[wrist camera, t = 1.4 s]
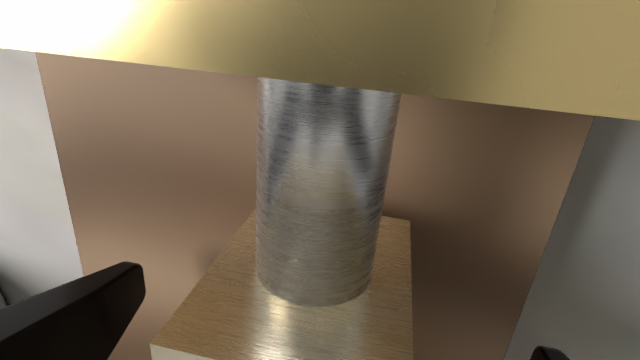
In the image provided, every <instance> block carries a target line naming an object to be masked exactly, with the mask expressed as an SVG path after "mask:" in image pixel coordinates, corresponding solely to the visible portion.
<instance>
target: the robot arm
mask: <svg viewBox="0 0 640 360" xmlns="http://www.w3.org/2000/svg"><path fill="white" fill-rule="evenodd" d="M145 295H146V287H145V280H144V272H143V267H142V266H141V265H140V264H138V263H133V262H128V261H123V262H120V263H118V264H115V265H113V266H110V267H107V268H105V269H102V270H100V271H97V272H94V273H92V274H89V275H87V276H84V277H82V278H79V279H76V280H74V281H71V282H69V283H66V284H63V285H61V286H58V287H56V288H53V289H50V290H48V291H45V292H43V293H40V294H37V295H35V296H32V297H30V298H27V299H25V300H22V301H19V302H17V303H14V304H12V305H9V306H6V307H4V308H1V309H0V360H107V359H108V358H109V356H110V355H111V353H112V352H113V350H114V349H115V347H116V345H117V344H118V342H119V340H120V339H121V337H122V335H123V334H124V332H125V330H126V329H127V327H128V325H129V324H130V322H131V321H132V319H133V317H134V316H135V314H136V312H137V311H138V309H139V307H140V306H141V304H142V302H143V300H144V298H145ZM530 360H570V359H569V358H568V357H567V356H566V355H565V354H564V353H563V352H561V351H560V350H558V349H554V348H549V347H545V346H537V347H536V348H535V350H534V351H533V354H532V356H531V359H530Z"/></svg>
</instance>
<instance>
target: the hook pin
mask: <svg viewBox="0 0 640 360" xmlns="http://www.w3.org/2000/svg"><path fill="white" fill-rule="evenodd" d="M400 99H401V93H393V92H384V91H375V90H366V89H358V88H349V87H340V86H331V85H323V84H314V83H305V82H296V81H288V80H279V79H270V78H261V77H258V87H257V193H256V209H255V210H254V211H253V213H252V214H251V215H250V216H249V218H248V219H247V220H246V222H245V223H244V224H243V225H242V227H241V228H240V229H239V230H238V232H237V233H236V234H235V236H234V237H233V238H232V239H231V241H230V242H229V243H228V245H227V246H226V247H225V248H224V250H223V251H222V252H221V254H220V255H219V256H218V257H217V259H216V260H215V261H214V262H213V264H212V265H211V266H210V268H209V269H208V270H207V271H206V273H205V274H204V275H203V277H202V278H201V279H200V280H199V282H198V283H197V284H196V285H195V287H194V288H193V289H192V291H191V292H190V293H189V294H188V296H187V297H186V298H185V300H184V301H183V302H182V303H181V305H180V306H179V307H178V308H177V310H176V311H175V312H174V314H173V315H172V316H171V317H170V319H169V320H168V321H167V323H166V324H165V325H164V326H163V328H162V329H161V330H160V331H159V333H158V334H157V335H156V337H155V338H154V339H153V340H152V342H151V343H150V349H151V356H152V360H413V330H412V285H411V240H410V220H404V219H398V218H392V217H386V216H382V210H383V204H384V197H385V191H386V185H387V179H388V173H389V166H390V160H391V154H392V148H393V142H394V136H395V129H396V123H397V117H398V111H399V105H400Z"/></svg>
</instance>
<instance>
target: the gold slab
mask: <svg viewBox="0 0 640 360" xmlns="http://www.w3.org/2000/svg"><path fill="white" fill-rule="evenodd" d="M0 48H7V49H16V50H25V51H34V52H42V53H51V54H60V55H69V56H77V57H86V58H95V59H104V60H112V61H121V62H130V63H139V64H147V65H156V66H165V67H174V68H182V69H191V70H200V71H209V72H217V73H226V74H235V75H244V76H252V77H261V78H270V79H279V80H288V81H296V82H305V83H314V84H323V85H331V86H340V87H349V88H358V89H366V90H375V91H384V92H393V93H401V94H410V95H419V96H428V97H436V98H445V99H454V100H463V101H471V102H480V103H489V104H498V105H506V106H515V107H524V108H533V109H541V110H550V111H559V112H568V113H576V114H585V115H594V116H603V117H612V118H620V119H629V120H638V121H640V0H0Z"/></svg>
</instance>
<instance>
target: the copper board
mask: <svg viewBox="0 0 640 360" xmlns="http://www.w3.org/2000/svg"><path fill="white" fill-rule="evenodd" d="M36 57H37V61H38V66H39V71H40V75H41V80H42V85H43V89H44V94H45V98H46V103H47V108H48V112H49V117H50V122H51V126H52V131H53V135H54V140H55V145H56V149H57V154H58V159H59V163H60V168H61V172H62V177H63V182H64V186H65V191H66V196H67V200H68V205H69V209H70V214H71V219H72V223H73V228H74V233H75V237H76V242H77V246H78V251H79V256H80V260H81V265H82V270H83V274H84V276H87V275H89V274H92V273H94V272H97V271H100V270H102V269H105V268H107V267H110V266H113V265H115V264H118V263H120V262H123V261H128V262H133V263H138V264H140V265H141V266H142V267H143V272H144V280H145V287H146V295H145V298H144V300H143V302H142V304H141V306H140V307H139V309H138V311H137V312H136V314H135V316H134V317H133V319H132V321H131V322H130V324H129V325H128V327H127V329H126V330H125V332H124V334H123V335H122V337H121V339H120V340H119V342H118V344H117V345H116V347H115V349H114V350H113V352H112V353H111V355H110V356H109V358H108V359H107V360H152V356H151V349H150V343H151V342H152V340H153V339H154V338H155V337H156V335H157V334H158V333H159V331H160V330H161V329H162V328H163V326H164V325H165V324H166V323H167V321H168V320H169V319H170V317H171V316H172V315H173V314H174V312H175V311H176V310H177V308H178V307H179V306H180V305H181V303H182V302H183V301H184V300H185V298H186V297H187V296H188V294H189V293H190V292H191V291H192V289H193V288H194V287H195V285H196V284H197V283H198V282H199V280H200V279H201V278H202V277H203V275H204V274H205V273H206V271H207V270H208V269H209V268H210V266H211V265H212V264H213V262H214V261H215V260H216V259H217V257H218V256H219V255H220V254H221V252H222V251H223V250H224V248H225V247H226V246H227V245H228V243H229V242H230V241H231V239H232V238H233V237H234V236H235V234H236V233H237V232H238V230H239V229H240V228H241V227H242V225H243V224H244V223H245V222H246V220H247V219H248V218H249V216H250V215H251V214H252V213H253V211H254V210H255V209H256V193H257V87H258V77H252V76H244V75H235V74H226V73H217V72H209V71H200V70H191V69H182V68H174V67H165V66H156V65H147V64H139V63H130V62H121V61H112V60H104V59H95V58H86V57H77V56H69V55H60V54H51V53H42V52H36ZM594 117H595V116H594V115H585V114H576V113H568V112H559V111H550V110H541V109H533V108H524V107H515V106H506V105H498V104H489V103H480V102H471V101H463V100H454V99H445V98H436V97H428V96H419V95H410V94H401V99H400V105H399V111H398V117H397V123H396V129H395V136H394V142H393V148H392V154H391V160H390V166H389V173H388V179H387V185H386V191H385V197H384V204H383V210H382V216H386V217H392V218H398V219H404V220H410V240H411V285H412V330H413V360H503V359H504V356H505V354H506V351H507V348H508V346H509V343H510V340H511V338H512V335H513V332H514V330H515V327H516V324H517V322H518V319H519V316H520V314H521V311H522V308H523V306H524V303H525V300H526V298H527V295H528V292H529V290H530V287H531V284H532V282H533V279H534V276H535V274H536V271H537V268H538V266H539V263H540V260H541V258H542V255H543V253H544V250H545V247H546V245H547V242H548V239H549V237H550V234H551V231H552V229H553V226H554V223H555V221H556V218H557V215H558V213H559V210H560V207H561V205H562V202H563V199H564V197H565V194H566V191H567V189H568V186H569V183H570V181H571V178H572V175H573V173H574V170H575V167H576V165H577V162H578V159H579V157H580V154H581V151H582V149H583V146H584V143H585V141H586V138H587V135H588V133H589V130H590V127H591V125H592V122H593V119H594Z"/></svg>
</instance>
